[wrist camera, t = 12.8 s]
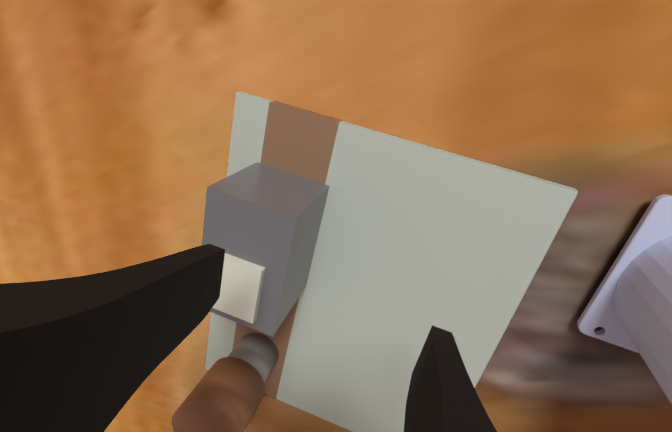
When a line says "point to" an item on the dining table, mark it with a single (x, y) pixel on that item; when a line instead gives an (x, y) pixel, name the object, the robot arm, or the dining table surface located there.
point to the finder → (263, 242)
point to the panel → (389, 260)
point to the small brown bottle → (229, 389)
